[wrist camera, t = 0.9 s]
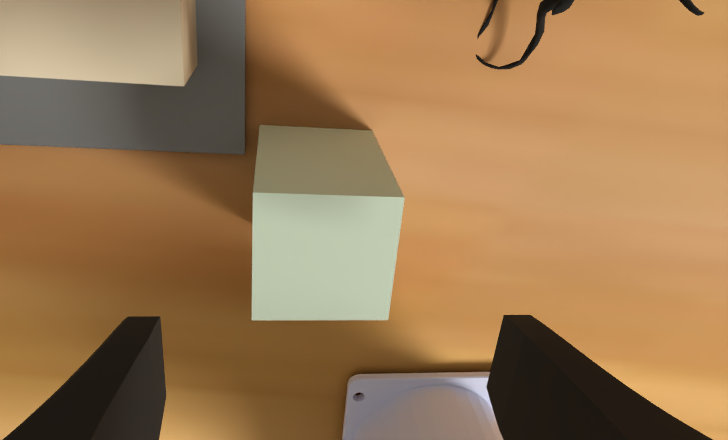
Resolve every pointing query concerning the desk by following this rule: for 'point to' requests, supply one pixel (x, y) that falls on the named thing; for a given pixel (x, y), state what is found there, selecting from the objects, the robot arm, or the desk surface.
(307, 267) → the pillar block
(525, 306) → the desk surface
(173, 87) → the mat
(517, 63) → the creature
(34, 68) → the base slab
